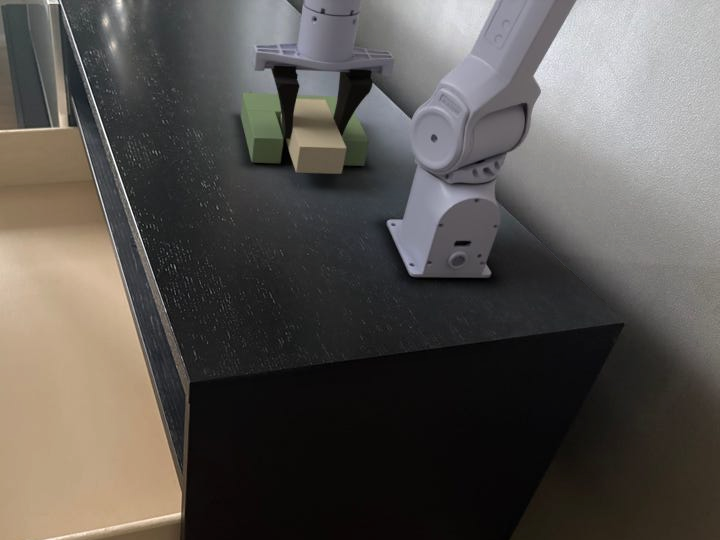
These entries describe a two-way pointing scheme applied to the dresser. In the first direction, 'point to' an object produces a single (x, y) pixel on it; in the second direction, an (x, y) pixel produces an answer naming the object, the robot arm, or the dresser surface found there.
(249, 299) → the dresser surface
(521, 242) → the dresser surface
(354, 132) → the green u-shaped block
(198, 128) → the dresser surface
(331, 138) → the cream block
